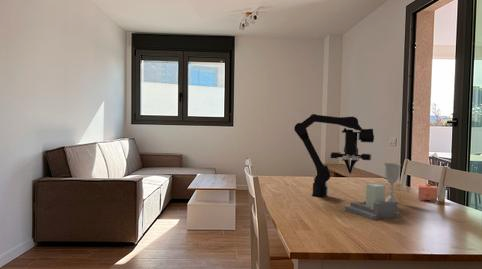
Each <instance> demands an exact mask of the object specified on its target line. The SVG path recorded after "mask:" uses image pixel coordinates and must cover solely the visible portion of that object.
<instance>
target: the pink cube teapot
mask: <svg viewBox="0 0 482 269" xmlns="http://www.w3.org/2000/svg"><path fill="white" fill-rule="evenodd" d="M417 188H418V189H417V191H418V192H417V193H418V194H417V199H418V200H420V201H421V202H425V201H427V200H428V201H429V202H430V203H434V202H437V200H438V186H437V185H431V184H430V183H425V184H418V187H417Z"/></svg>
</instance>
